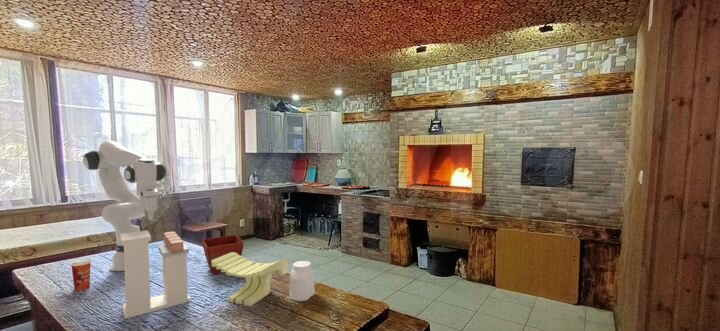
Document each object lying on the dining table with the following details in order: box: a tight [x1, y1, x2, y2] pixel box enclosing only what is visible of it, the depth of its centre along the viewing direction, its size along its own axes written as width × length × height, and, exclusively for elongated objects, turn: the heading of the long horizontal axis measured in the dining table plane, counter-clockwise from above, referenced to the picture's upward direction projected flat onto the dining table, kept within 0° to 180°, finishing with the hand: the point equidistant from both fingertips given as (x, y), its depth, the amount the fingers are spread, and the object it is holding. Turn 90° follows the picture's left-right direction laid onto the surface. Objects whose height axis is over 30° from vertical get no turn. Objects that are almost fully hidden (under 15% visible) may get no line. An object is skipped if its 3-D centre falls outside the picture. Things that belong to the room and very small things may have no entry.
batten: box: [163, 230, 184, 254], centre depth 145 cm, size 24×4×4 cm, turn 39°
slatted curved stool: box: [211, 252, 288, 307], centre depth 147 cm, size 30×16×18 cm, turn 70°
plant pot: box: [201, 234, 245, 276], centre depth 182 cm, size 19×19×17 cm
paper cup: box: [70, 258, 92, 292], centre depth 157 cm, size 8×8×14 cm
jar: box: [288, 260, 316, 302], centre depth 148 cm, size 12×10×15 cm
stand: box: [120, 229, 191, 320], centre depth 140 cm, size 14×24×32 cm, turn 129°
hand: (148, 217), depth 161 cm, fingers open, 8 cm apart
